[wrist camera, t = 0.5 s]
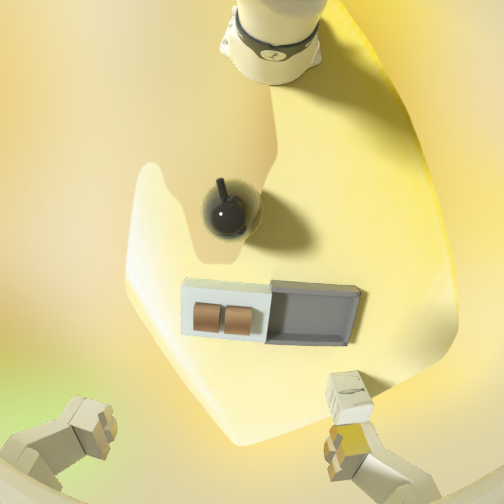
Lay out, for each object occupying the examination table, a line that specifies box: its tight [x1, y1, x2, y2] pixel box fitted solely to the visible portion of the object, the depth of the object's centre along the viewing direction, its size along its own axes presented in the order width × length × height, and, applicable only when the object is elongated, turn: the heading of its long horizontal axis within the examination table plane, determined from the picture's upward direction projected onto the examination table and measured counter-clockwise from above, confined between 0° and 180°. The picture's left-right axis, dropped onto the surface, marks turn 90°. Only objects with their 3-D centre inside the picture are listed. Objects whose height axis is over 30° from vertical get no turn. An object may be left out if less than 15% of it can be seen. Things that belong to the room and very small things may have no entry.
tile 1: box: [193, 302, 221, 333], centre depth 50 cm, size 4×4×2 cm
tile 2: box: [224, 305, 252, 336], centre depth 50 cm, size 4×4×2 cm
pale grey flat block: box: [181, 277, 272, 342], centre depth 53 cm, size 10×16×4 cm, turn 85°
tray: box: [265, 280, 361, 346], centre depth 54 cm, size 12×17×4 cm
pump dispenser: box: [200, 178, 264, 243], centre depth 43 cm, size 10×10×15 cm
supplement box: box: [326, 371, 374, 425], centre depth 55 cm, size 7×7×13 cm
